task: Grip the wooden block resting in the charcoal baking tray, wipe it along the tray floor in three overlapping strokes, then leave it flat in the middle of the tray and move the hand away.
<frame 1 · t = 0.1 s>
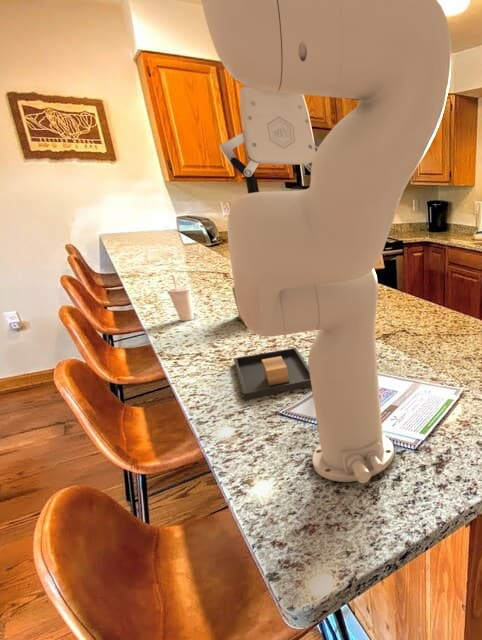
hand: (288, 203, 71), 37 cm above the countertop, tool pointing down, fingers open, 9 cm apart
tray: (274, 376, 96), on the countertop
wooden block: (277, 382, 92), point 1 cm above the countertop, touching tray
smoothie: (187, 319, 136), on the countertop
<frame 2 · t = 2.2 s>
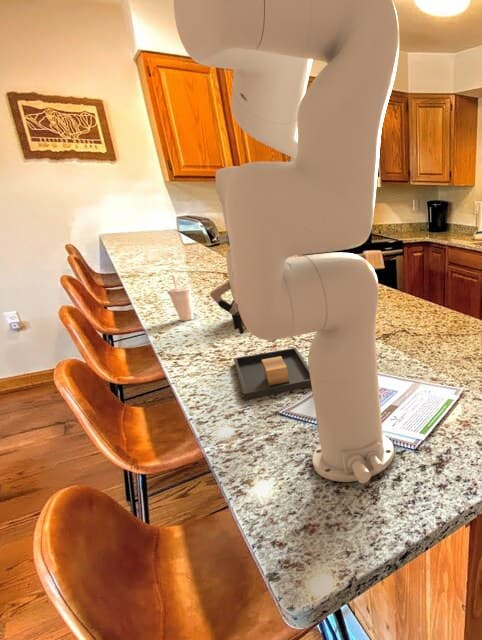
hand: (267, 328, 87), 13 cm above the countertop, tool pointing down, fingers open, 9 cm apart
nothing on the countertop moved.
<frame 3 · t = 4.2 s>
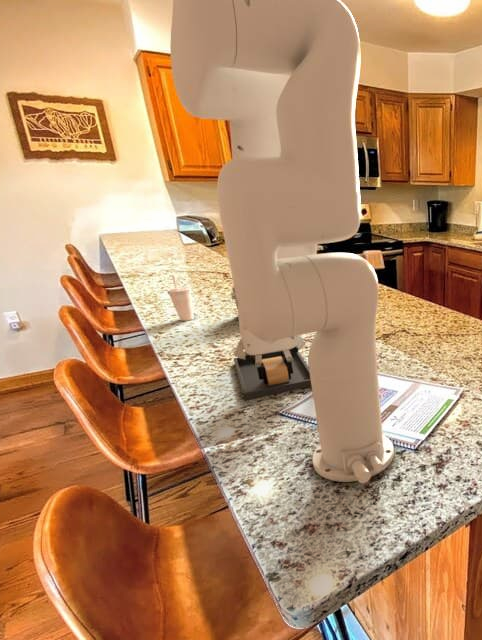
hand: (276, 378, 91), 2 cm above the countertop, tool pointing down, fingers closed on wooden block, 4 cm apart
wooden block: (277, 382, 92), point 1 cm above the countertop, touching gripper, tray
everything else where it was.
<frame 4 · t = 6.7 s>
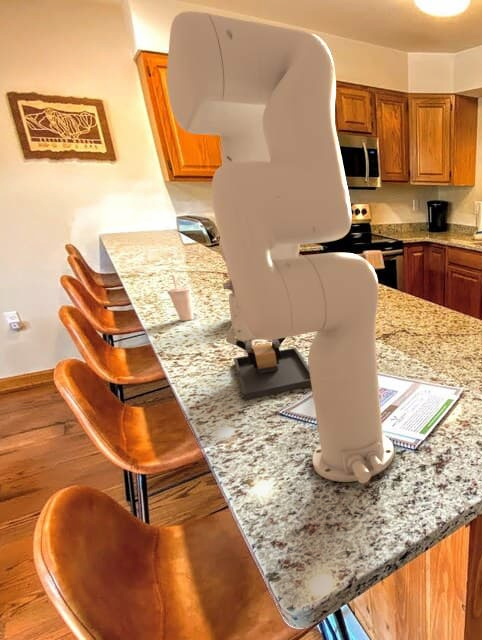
hand: (265, 363, 99), 2 cm above the countertop, tool pointing down, fingers closed on wooden block, 4 cm apart
wooden block: (266, 366, 99), point 1 cm above the countertop, touching gripper
everything else where it was.
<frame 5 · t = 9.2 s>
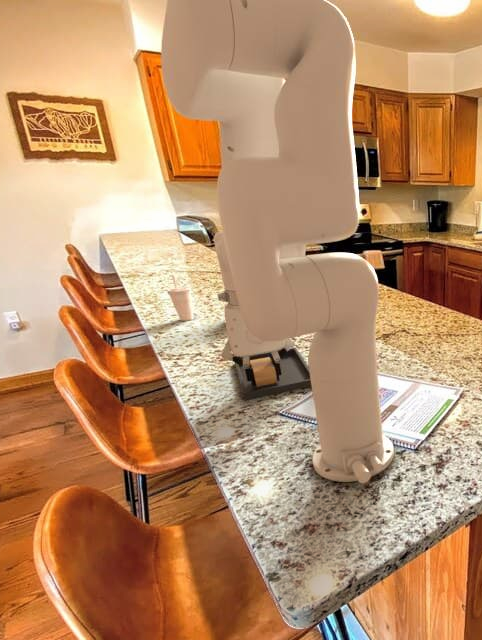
hand: (265, 380, 91), 1 cm above the countertop, tool pointing down, fingers closed on wooden block, 4 cm apart
wooden block: (265, 383, 91), point 1 cm above the countertop, touching gripper
everything else where it was.
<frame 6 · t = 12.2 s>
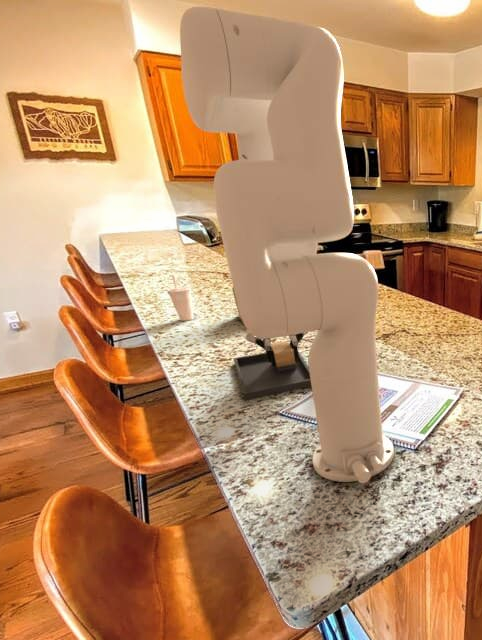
hand: (283, 361, 100), 2 cm above the countertop, tool pointing down, fingers closed on wooden block, 4 cm apart
wooden block: (284, 365, 100), point 1 cm above the countertop, touching gripper
everything else where it was.
when the fingers open (1 cm above the countertop, at t = 14.5 s): wooden block stays where it is, resting on tray.
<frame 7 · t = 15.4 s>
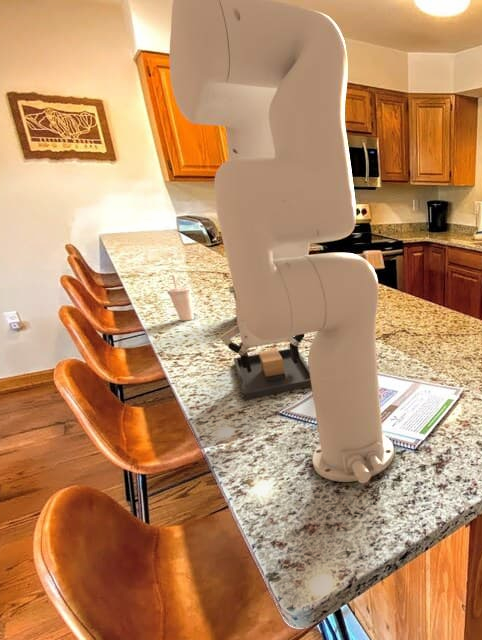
hand: (272, 365, 95), 3 cm above the countertop, tool pointing down, fingers open, 9 cm apart
wooden block: (273, 374, 96), point 1 cm above the countertop, touching tray
everything else where it was.
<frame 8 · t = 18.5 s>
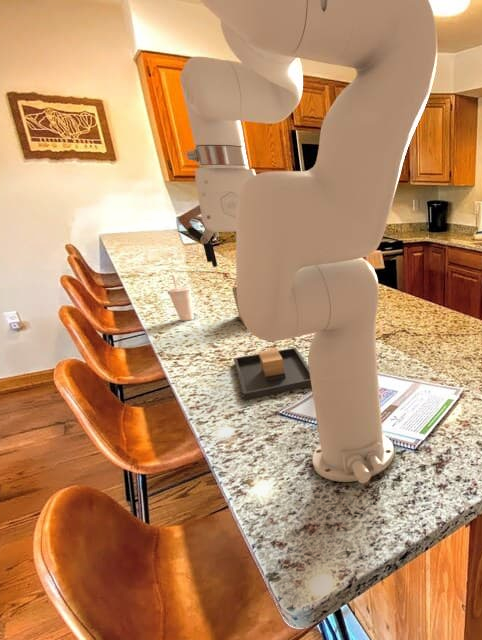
hand: (244, 263, 79), 26 cm above the countertop, tool pointing down, fingers open, 9 cm apart
nothing on the countertop moved.
at the end: wooden block inside the target area in the tray (0.0 cm from its centre), point 0.6 cm above the tray's base; wooden block tilted 0°; the gripper is holding nothing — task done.
